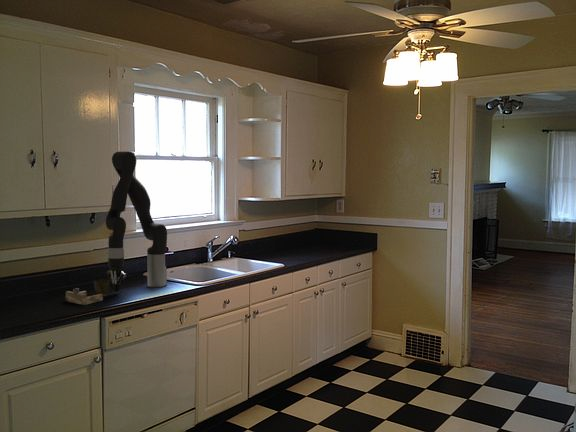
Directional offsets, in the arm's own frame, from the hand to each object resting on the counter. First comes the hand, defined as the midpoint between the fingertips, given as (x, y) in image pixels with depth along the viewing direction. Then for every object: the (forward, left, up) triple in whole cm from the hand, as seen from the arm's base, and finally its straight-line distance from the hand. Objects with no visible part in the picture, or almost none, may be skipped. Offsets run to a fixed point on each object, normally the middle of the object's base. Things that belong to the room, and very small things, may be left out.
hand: (116, 291), depth 278 cm
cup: (+9, 0, -1) cm, 9 cm away
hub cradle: (+19, 0, -1) cm, 19 cm away
